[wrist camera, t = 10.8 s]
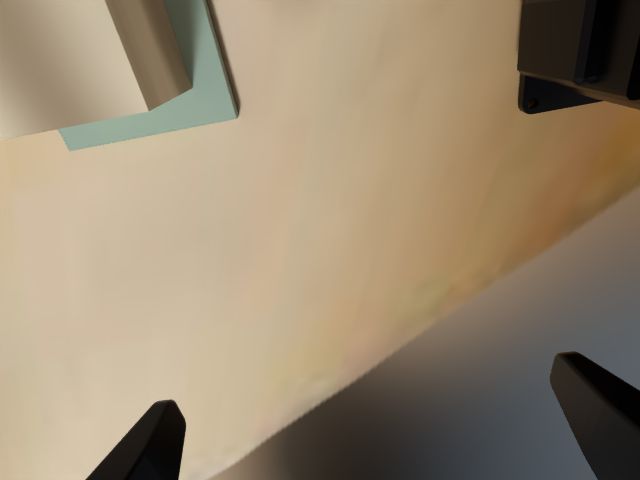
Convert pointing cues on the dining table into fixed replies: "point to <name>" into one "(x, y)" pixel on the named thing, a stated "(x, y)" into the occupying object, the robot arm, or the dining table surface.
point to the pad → (184, 110)
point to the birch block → (84, 62)
